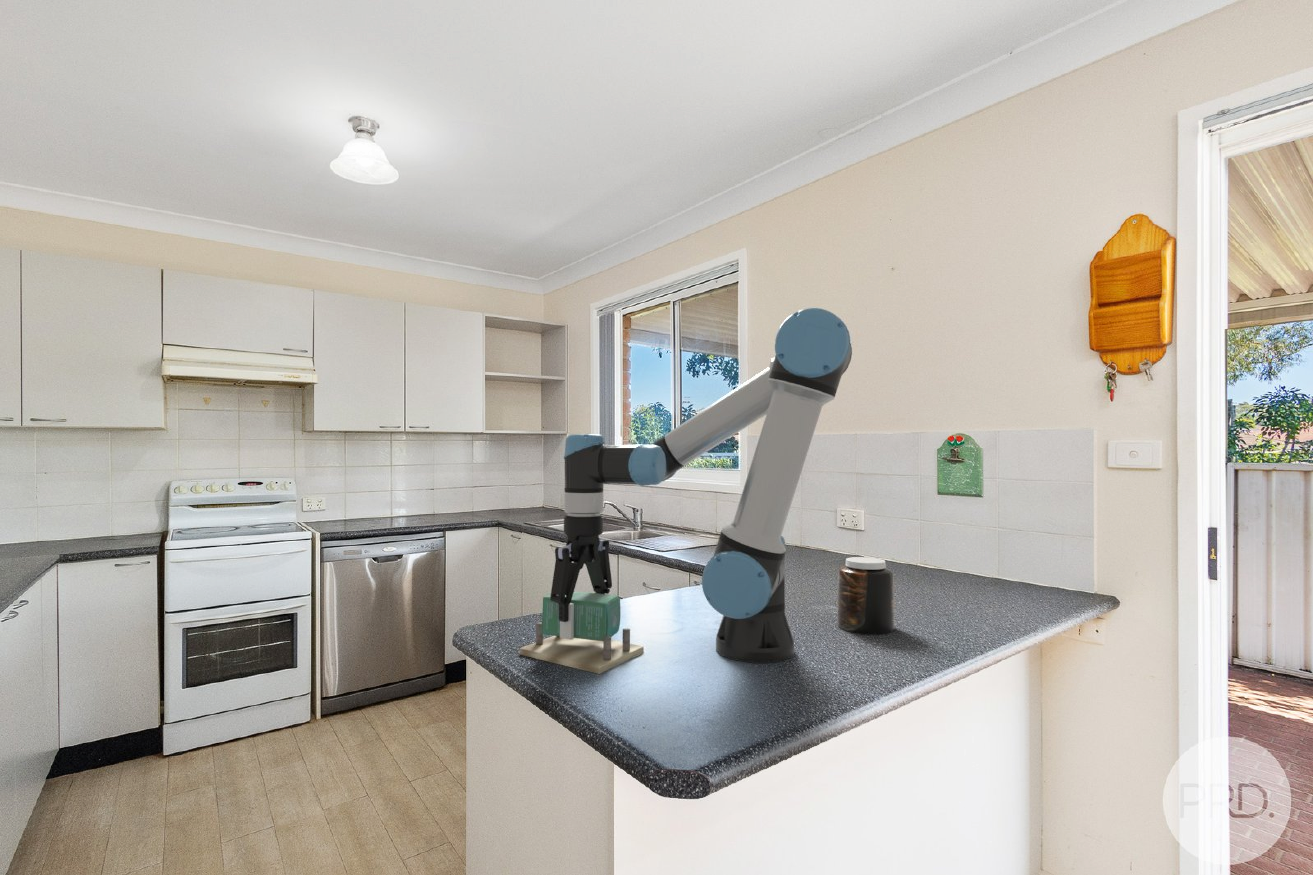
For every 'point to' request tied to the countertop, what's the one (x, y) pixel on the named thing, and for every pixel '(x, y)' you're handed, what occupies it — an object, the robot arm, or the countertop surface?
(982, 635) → the countertop surface
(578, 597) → the box
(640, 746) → the countertop surface
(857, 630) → the jar
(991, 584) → the countertop surface
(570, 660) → the tray
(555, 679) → the countertop surface
